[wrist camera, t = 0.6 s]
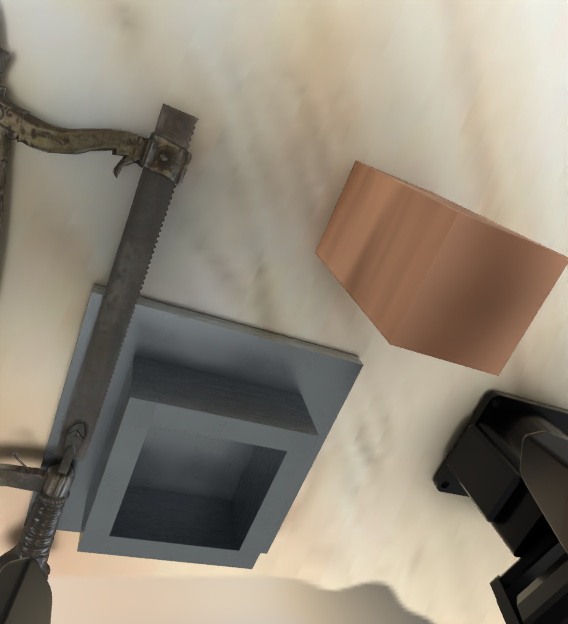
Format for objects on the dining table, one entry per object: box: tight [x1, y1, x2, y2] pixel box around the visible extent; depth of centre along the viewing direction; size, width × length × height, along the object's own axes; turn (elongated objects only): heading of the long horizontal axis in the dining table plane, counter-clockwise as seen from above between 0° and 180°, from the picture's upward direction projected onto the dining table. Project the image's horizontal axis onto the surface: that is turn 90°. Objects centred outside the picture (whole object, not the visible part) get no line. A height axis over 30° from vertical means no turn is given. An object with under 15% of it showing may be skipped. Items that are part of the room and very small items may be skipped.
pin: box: [316, 161, 568, 376], centre depth 18 cm, size 4×4×8 cm
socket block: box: [24, 284, 363, 569], centre depth 23 cm, size 12×12×4 cm
